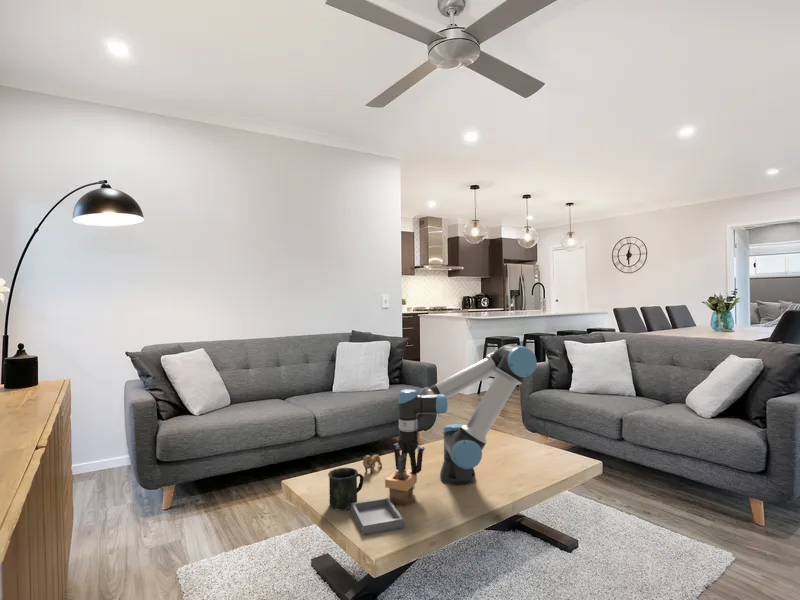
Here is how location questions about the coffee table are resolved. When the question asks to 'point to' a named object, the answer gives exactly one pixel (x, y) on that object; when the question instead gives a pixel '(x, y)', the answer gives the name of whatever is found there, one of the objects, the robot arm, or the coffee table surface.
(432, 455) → the coffee table surface
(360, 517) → the tray
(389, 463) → the coffee table surface
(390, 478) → the orange square frame paddle
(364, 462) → the lion figurine
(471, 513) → the coffee table surface
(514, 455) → the coffee table surface
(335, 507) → the mug
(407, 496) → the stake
